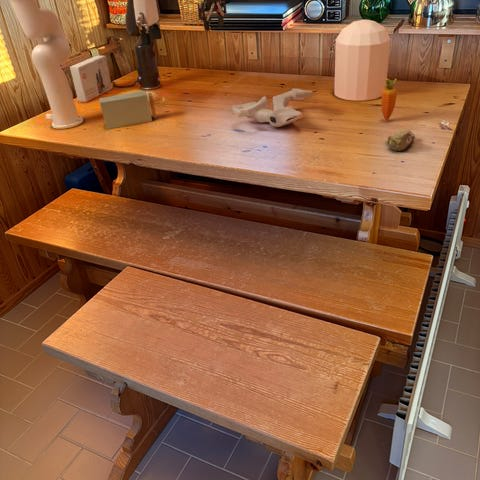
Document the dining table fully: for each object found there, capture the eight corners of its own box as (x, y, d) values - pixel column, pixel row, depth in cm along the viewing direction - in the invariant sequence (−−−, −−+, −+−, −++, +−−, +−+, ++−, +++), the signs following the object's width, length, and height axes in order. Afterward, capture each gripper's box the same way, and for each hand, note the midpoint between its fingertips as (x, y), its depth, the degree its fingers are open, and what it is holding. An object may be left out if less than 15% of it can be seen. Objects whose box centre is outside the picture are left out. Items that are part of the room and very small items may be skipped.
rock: (408, 140, 153) (379, 139, 152) (414, 122, 149) (384, 120, 148) (421, 154, 144) (391, 153, 143) (428, 135, 140) (396, 133, 139)
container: (354, 104, 182) (359, 27, 166) (324, 91, 198) (325, 20, 182) (396, 93, 189) (404, 18, 173) (363, 81, 205) (368, 12, 189)
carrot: (394, 118, 167) (398, 76, 158) (393, 123, 163) (397, 80, 154) (379, 117, 168) (383, 75, 160) (378, 122, 165) (382, 80, 156)
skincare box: (87, 102, 214) (77, 67, 204) (78, 102, 215) (68, 66, 206) (113, 88, 229) (105, 54, 220) (104, 88, 231) (96, 54, 222)
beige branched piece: (230, 133, 167) (227, 101, 161) (244, 110, 188) (241, 81, 182) (308, 133, 161) (308, 99, 155) (313, 109, 182) (314, 78, 176)
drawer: (167, 111, 191) (164, 90, 186) (169, 115, 188) (166, 93, 183) (113, 121, 187) (108, 99, 182) (114, 125, 183) (108, 103, 178)
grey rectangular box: (150, 116, 191) (145, 90, 185) (152, 121, 186) (147, 94, 180) (105, 124, 188) (99, 98, 182) (106, 129, 183) (99, 102, 177)
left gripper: (142, -15, 165) (151, 37, 174) (122, -7, 151) (133, 48, 161) (162, -16, 163) (170, 36, 173) (143, -9, 149) (153, 47, 159)
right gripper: (214, -20, 183) (218, 24, 193) (189, -15, 174) (195, 31, 184) (228, -20, 179) (232, 25, 188) (204, -15, 170) (209, 32, 180)
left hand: (152, 42), depth 167 cm, fingers open, 9 cm apart
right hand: (214, 28), depth 186 cm, fingers open, 8 cm apart
